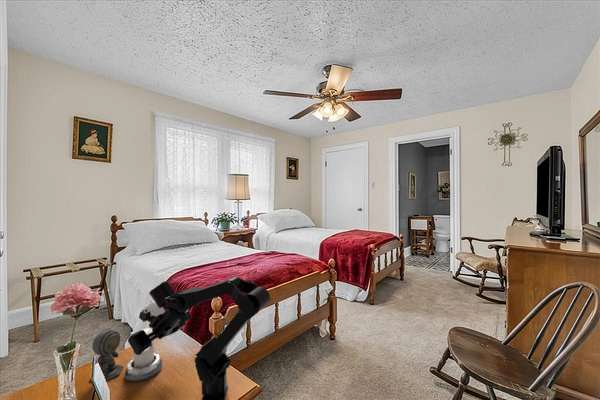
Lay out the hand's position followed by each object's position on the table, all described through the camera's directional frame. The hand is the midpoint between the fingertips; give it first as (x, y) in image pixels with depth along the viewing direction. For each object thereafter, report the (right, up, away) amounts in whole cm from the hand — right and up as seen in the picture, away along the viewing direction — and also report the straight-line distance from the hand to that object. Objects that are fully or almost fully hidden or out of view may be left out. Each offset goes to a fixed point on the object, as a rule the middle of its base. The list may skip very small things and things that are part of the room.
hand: (147, 344), depth 93 cm
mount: (-2, -10, +1) cm, 10 cm away
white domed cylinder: (-2, -8, +1) cm, 8 cm away
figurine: (-14, -10, 0) cm, 17 cm away
